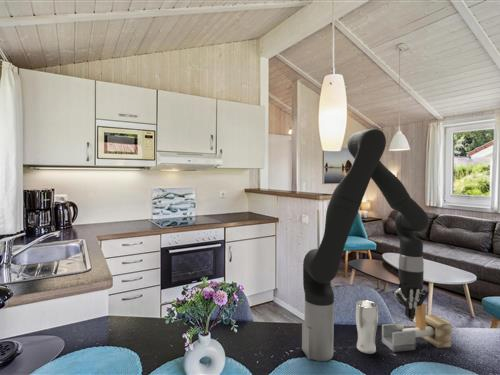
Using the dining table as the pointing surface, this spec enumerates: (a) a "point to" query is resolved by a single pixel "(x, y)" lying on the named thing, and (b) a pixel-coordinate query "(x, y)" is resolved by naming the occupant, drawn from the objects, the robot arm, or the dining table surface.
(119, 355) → the dining table surface
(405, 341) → the gray u-shaped block
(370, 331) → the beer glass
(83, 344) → the dining table surface
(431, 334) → the hammer
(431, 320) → the socket
